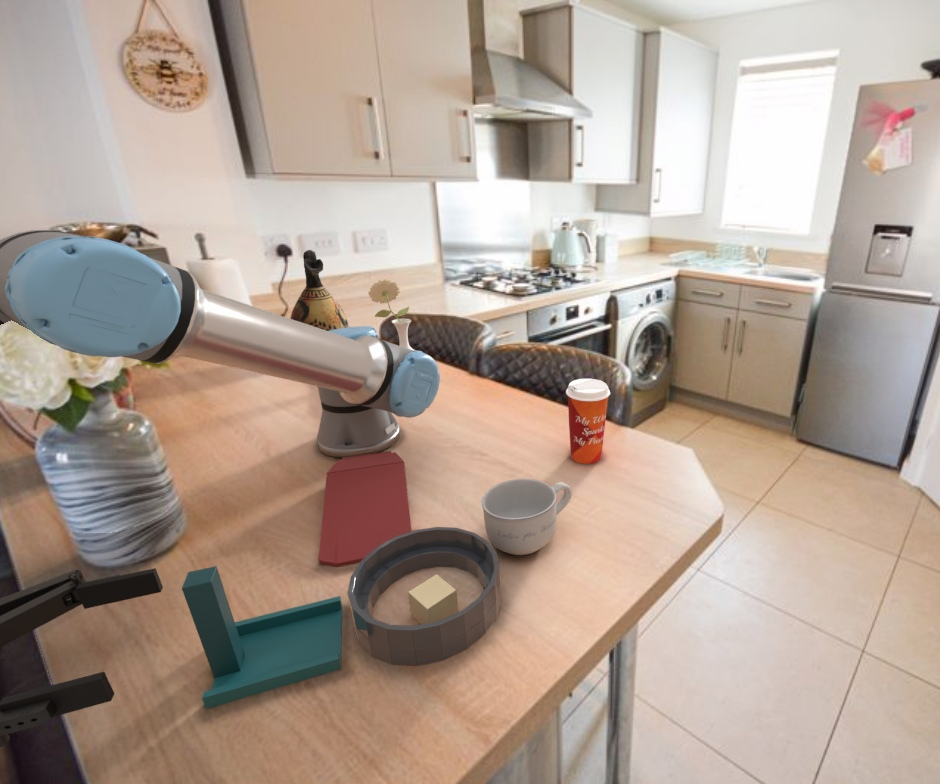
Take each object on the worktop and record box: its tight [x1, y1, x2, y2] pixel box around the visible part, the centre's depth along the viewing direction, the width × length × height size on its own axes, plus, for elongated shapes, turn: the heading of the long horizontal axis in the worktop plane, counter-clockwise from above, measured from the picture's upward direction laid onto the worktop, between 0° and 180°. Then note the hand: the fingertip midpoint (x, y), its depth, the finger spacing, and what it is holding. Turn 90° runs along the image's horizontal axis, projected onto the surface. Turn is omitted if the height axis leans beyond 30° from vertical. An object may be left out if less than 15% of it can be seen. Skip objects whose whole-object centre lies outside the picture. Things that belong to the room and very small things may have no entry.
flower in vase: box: [368, 279, 416, 351], centre depth 138 cm, size 13×11×25 cm
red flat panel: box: [318, 450, 412, 567], centre depth 81 cm, size 12×5×25 cm
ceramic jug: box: [290, 249, 350, 331], centre depth 148 cm, size 17×15×30 cm
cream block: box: [407, 574, 459, 625], centre depth 62 cm, size 4×4×4 cm
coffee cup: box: [565, 378, 611, 465], centre depth 97 cm, size 8×8×15 cm
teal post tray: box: [181, 565, 343, 710], centre depth 55 cm, size 12×10×13 cm
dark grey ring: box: [347, 526, 502, 667], centre depth 63 cm, size 17×17×6 cm
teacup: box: [481, 478, 573, 556], centre depth 75 cm, size 14×11×8 cm
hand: (136, 626), depth 50 cm, fingers open, 13 cm apart
